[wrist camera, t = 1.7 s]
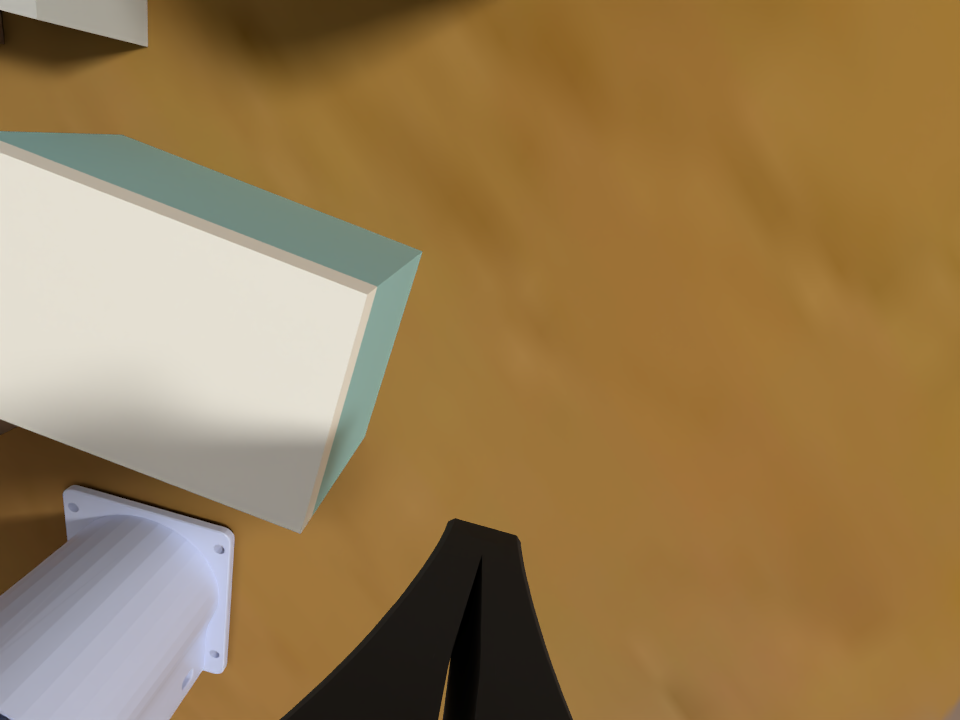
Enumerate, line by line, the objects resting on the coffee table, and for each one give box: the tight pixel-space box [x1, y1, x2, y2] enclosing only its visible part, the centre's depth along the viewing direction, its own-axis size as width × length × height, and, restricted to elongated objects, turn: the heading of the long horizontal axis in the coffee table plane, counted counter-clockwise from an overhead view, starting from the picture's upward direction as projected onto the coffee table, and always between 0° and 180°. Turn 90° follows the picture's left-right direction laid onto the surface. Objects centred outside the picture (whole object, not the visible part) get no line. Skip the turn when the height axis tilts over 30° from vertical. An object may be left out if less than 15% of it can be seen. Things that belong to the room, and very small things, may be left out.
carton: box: [0, 131, 422, 534], centre depth 17 cm, size 8×11×6 cm
